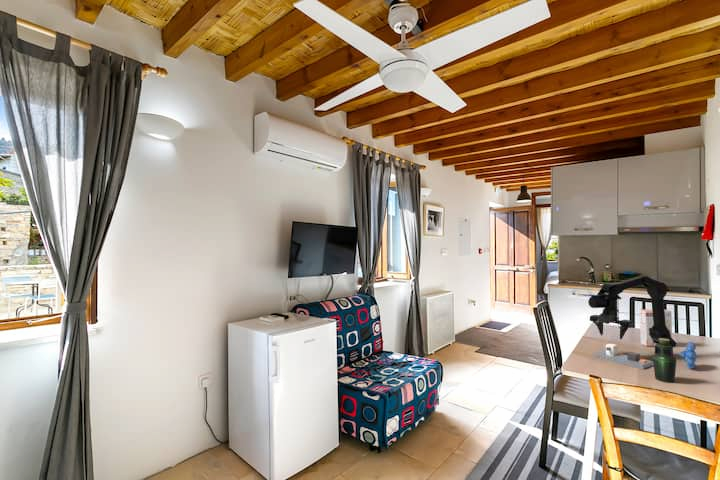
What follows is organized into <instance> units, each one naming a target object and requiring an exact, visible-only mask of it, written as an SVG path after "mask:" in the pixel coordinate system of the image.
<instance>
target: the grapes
mask: <svg viewBox="0 0 720 480" xmlns="http://www.w3.org/2000/svg"><path fill="white" fill-rule="evenodd" d="M696 348H697V347H696V345H695V344H694V343H693V342H688V343H687V344H686V347H685V350H682V351H680V352H679V353H678V355H679V356H680V357H681V358H684V359H685V362H686V364H685V365H686V366H687V368H688V369H690V370H692V369H694V368H696V367H697V364H696V361H697V358H698V357H699V356H698V354H697V353H696V351H695V350H696Z"/></svg>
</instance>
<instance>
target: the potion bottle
mask: <svg viewBox="0 0 720 480" xmlns="http://www.w3.org/2000/svg"><path fill="white" fill-rule="evenodd" d="M669 341H670V340H669V339H664V338H659V343H657V344H656V347H658V348H659V350H660V353H657V354H655V353H654V354H653V355H652V361H653V370H654V378H655V379H656V380H657V381H660V382H663V383H674V382H675V381H676V380H675V379H676V369H677V368H676V367H677V361H678V360H677V359H676V358H675V357H673V356H674V355H673V356H671V355H670V354H668V353H669V350H670V349H673V350H674V347H672V345H670V344H669Z"/></svg>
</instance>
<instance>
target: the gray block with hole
mask: <svg viewBox="0 0 720 480" xmlns="http://www.w3.org/2000/svg"><path fill="white" fill-rule="evenodd" d="M593 354H594V356H595V358H597V359H602V360H606V361H610V362H613V363H616V364H617V363H618V364H622V365H624V366H629V367H632V368H633V367H634V368H637V369H639V370H640V369H641V370H645V369H648V368H649V367H654V364H653V360H650V359H649V360H648V359H645V358H641V357H640V356H641V353H636V352H632V351H631V352H628V353H627V354H623V353H620V352H618V355H617V356H614V357H613V356H609V355H606V349H603V350H599V351H597V352H594V353H593Z"/></svg>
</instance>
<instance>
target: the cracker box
mask: <svg viewBox="0 0 720 480" xmlns="http://www.w3.org/2000/svg"><path fill="white" fill-rule="evenodd" d="M664 311H665V323H666V327H667V328H668V330H669V331H670V334H671V338H672V339H673V325H672V322H673V321H672V320H673V319H672V310H669V309H665V308H664ZM653 325H654V323H653V312H652V308H651V309H650V308H649V309H639V333H640V334H639V337H640V340H639V341H640V345H641V346H645V347H649V348H651V347H653V348H655V346H656V343H654V342H653V340H652V338H651V337H650V335H649V328H652V326H653Z"/></svg>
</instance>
